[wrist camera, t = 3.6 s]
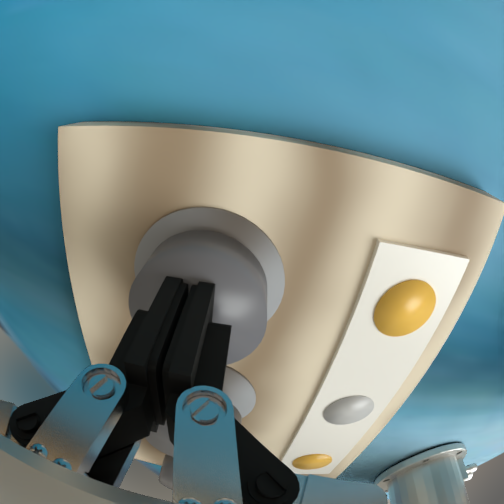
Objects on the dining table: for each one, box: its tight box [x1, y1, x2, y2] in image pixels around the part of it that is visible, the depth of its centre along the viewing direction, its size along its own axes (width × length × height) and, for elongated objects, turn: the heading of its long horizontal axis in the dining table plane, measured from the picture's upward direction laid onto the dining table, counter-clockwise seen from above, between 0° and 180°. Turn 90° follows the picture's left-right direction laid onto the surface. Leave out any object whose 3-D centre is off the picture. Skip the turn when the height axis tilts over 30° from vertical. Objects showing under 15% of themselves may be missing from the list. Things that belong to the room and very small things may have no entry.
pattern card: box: [280, 239, 470, 474], centre depth 16 cm, size 5×22×1 cm, turn 172°
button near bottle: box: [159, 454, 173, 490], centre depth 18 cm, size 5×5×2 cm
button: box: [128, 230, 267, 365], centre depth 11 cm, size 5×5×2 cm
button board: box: [58, 121, 504, 479], centre depth 17 cm, size 20×28×2 cm
